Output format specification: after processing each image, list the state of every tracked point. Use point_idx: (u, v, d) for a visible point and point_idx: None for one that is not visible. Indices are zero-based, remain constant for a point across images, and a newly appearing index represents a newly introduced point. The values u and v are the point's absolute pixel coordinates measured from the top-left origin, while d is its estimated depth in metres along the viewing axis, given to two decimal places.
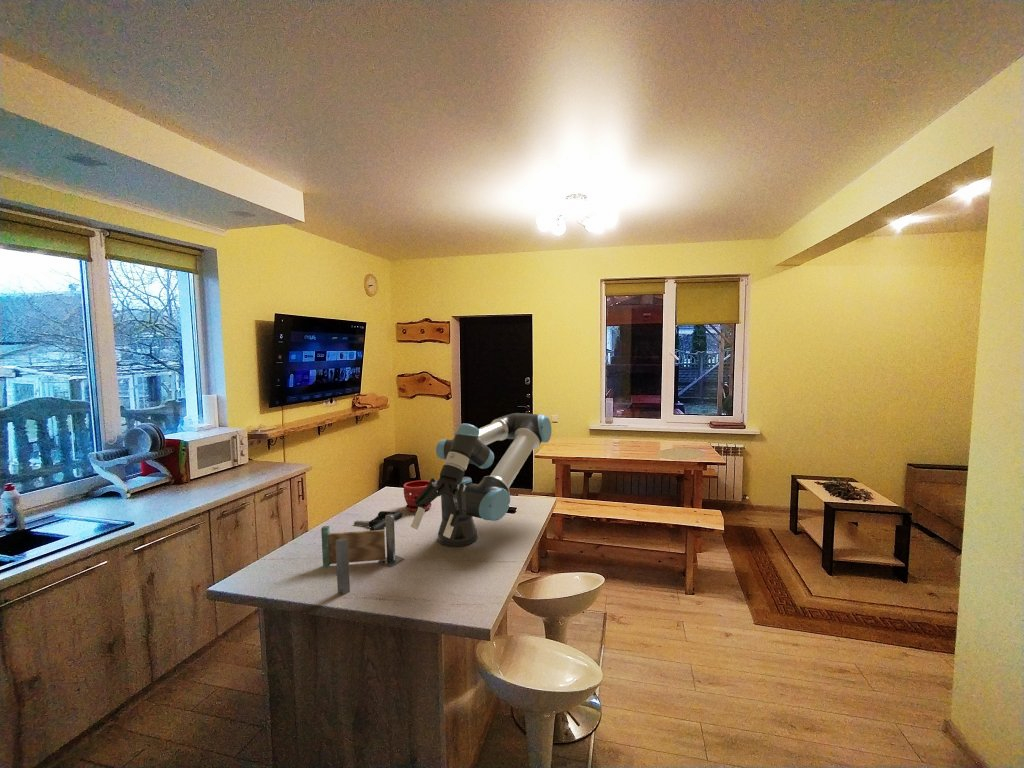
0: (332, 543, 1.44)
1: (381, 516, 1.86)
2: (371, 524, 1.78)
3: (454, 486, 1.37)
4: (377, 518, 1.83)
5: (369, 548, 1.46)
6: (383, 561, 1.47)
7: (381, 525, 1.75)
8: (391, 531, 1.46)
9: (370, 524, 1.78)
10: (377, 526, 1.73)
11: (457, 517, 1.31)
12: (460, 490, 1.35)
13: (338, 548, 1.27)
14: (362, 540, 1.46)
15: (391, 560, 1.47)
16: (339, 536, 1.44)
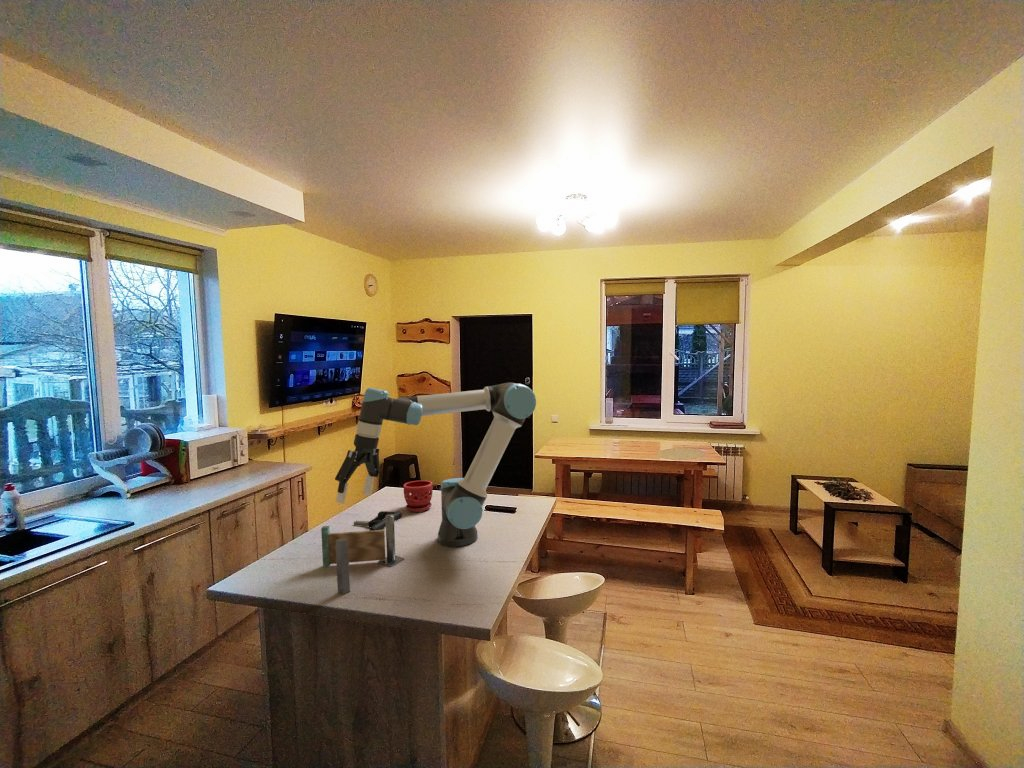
0: (332, 543, 1.44)
1: (381, 516, 1.86)
2: (371, 524, 1.78)
3: None
4: (377, 518, 1.83)
5: (369, 548, 1.46)
6: (383, 561, 1.47)
7: (380, 525, 1.75)
8: (391, 531, 1.46)
9: (369, 524, 1.78)
10: (376, 526, 1.73)
11: (340, 483, 1.34)
12: None
13: (338, 548, 1.27)
14: (362, 540, 1.46)
15: (391, 560, 1.47)
16: (339, 536, 1.44)
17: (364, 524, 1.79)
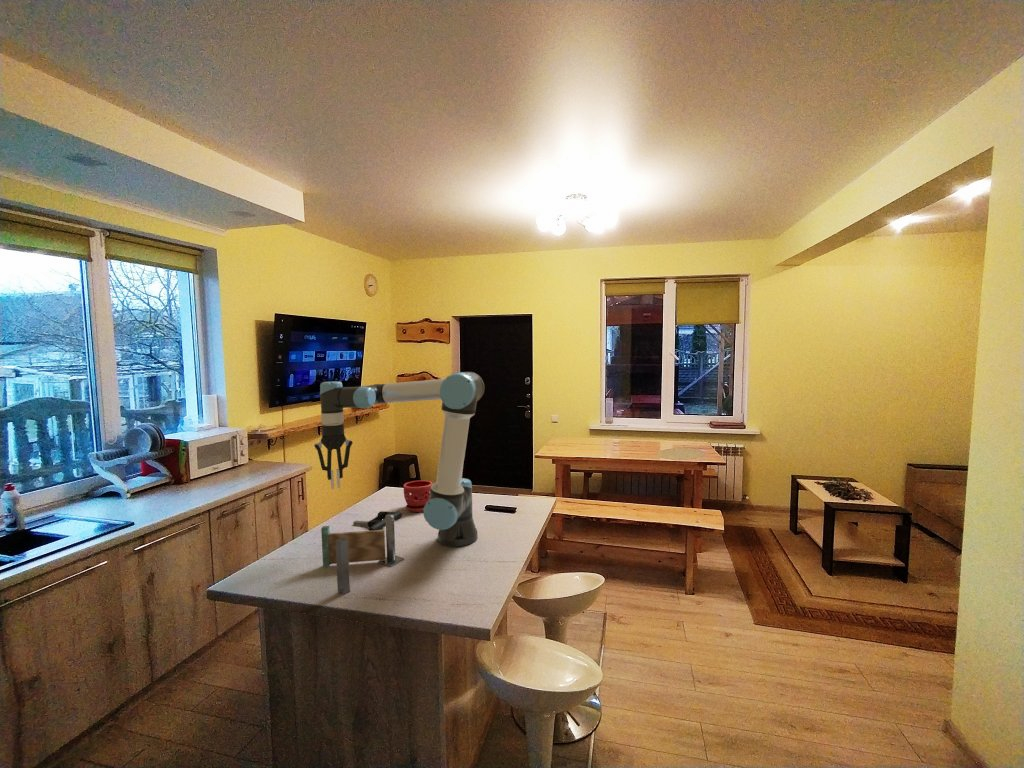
0: (332, 543, 1.44)
1: (381, 516, 1.86)
2: (370, 524, 1.78)
3: None
4: (376, 518, 1.83)
5: (369, 548, 1.46)
6: (383, 561, 1.47)
7: (380, 525, 1.74)
8: (391, 531, 1.46)
9: (369, 524, 1.78)
10: (376, 526, 1.72)
11: (327, 472, 1.57)
12: None
13: (338, 548, 1.27)
14: (362, 540, 1.46)
15: (391, 560, 1.47)
16: (339, 536, 1.44)
17: (364, 524, 1.79)
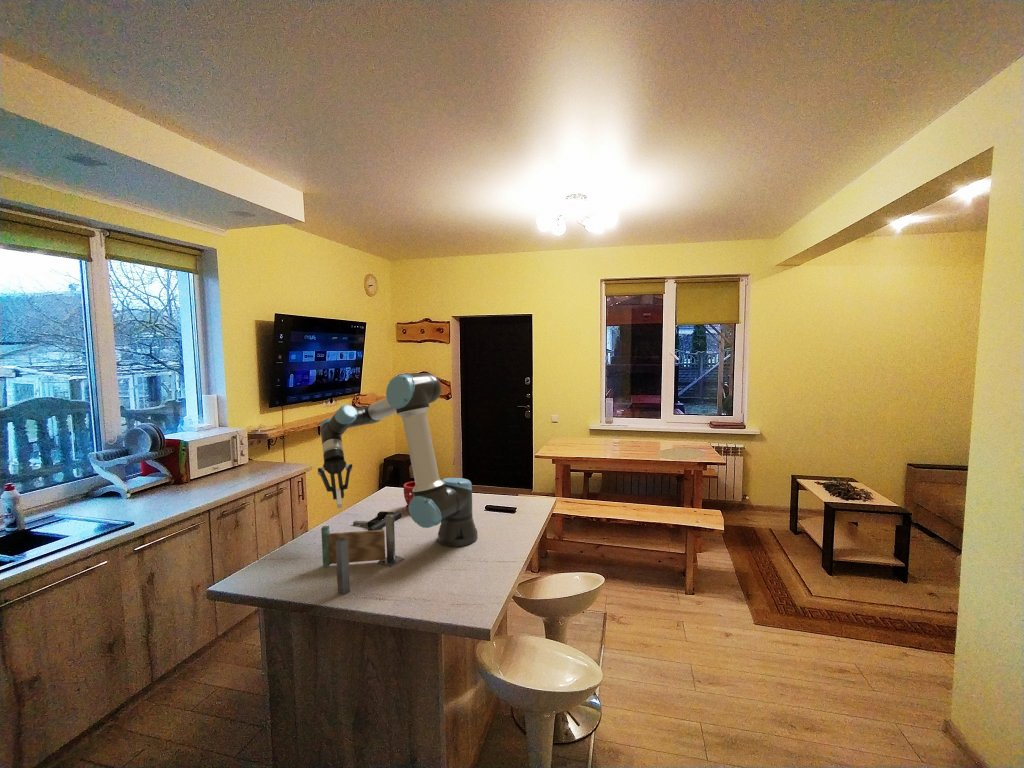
0: (332, 543, 1.44)
1: (381, 516, 1.86)
2: (370, 524, 1.77)
3: None
4: (376, 518, 1.83)
5: (369, 548, 1.46)
6: (383, 561, 1.47)
7: (379, 525, 1.74)
8: (391, 531, 1.46)
9: (368, 524, 1.78)
10: (375, 526, 1.72)
11: (332, 492, 1.62)
12: None
13: (338, 548, 1.27)
14: (362, 540, 1.46)
15: (391, 560, 1.47)
16: (339, 536, 1.44)
17: (363, 524, 1.79)
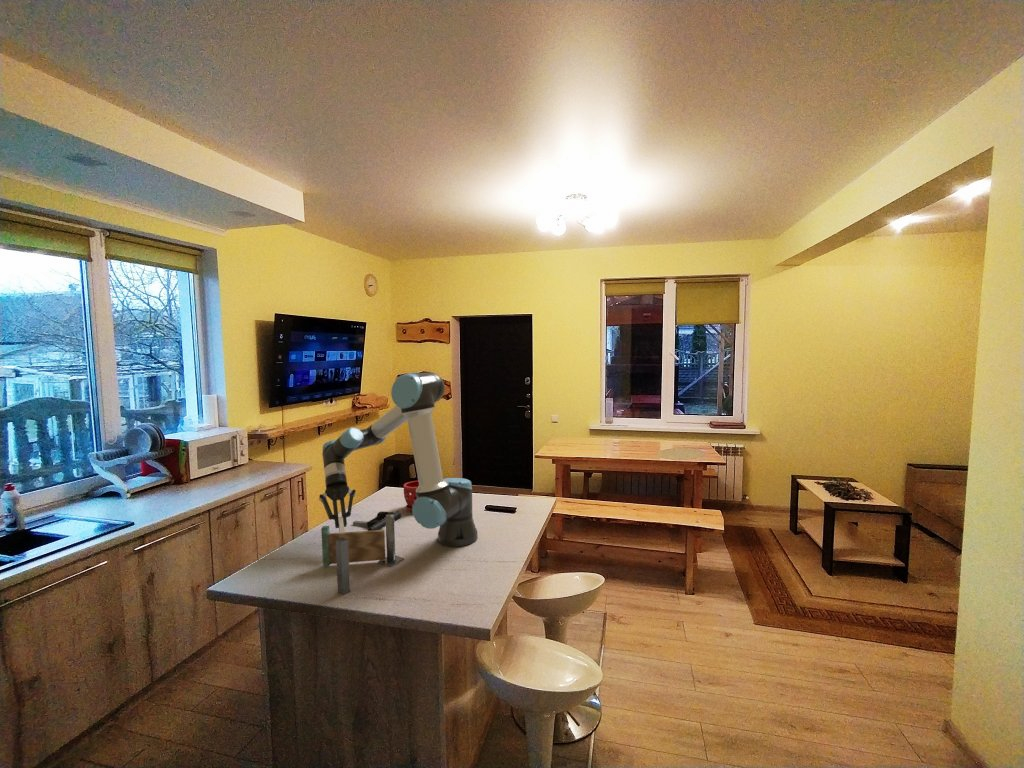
0: (332, 543, 1.44)
1: (380, 516, 1.86)
2: (369, 524, 1.77)
3: None
4: (376, 518, 1.83)
5: (369, 548, 1.46)
6: (383, 561, 1.47)
7: (379, 526, 1.74)
8: (391, 531, 1.46)
9: (368, 524, 1.78)
10: (375, 527, 1.72)
11: (334, 520, 1.55)
12: None
13: (338, 548, 1.27)
14: (362, 540, 1.46)
15: (391, 560, 1.47)
16: (339, 536, 1.44)
17: (363, 524, 1.79)
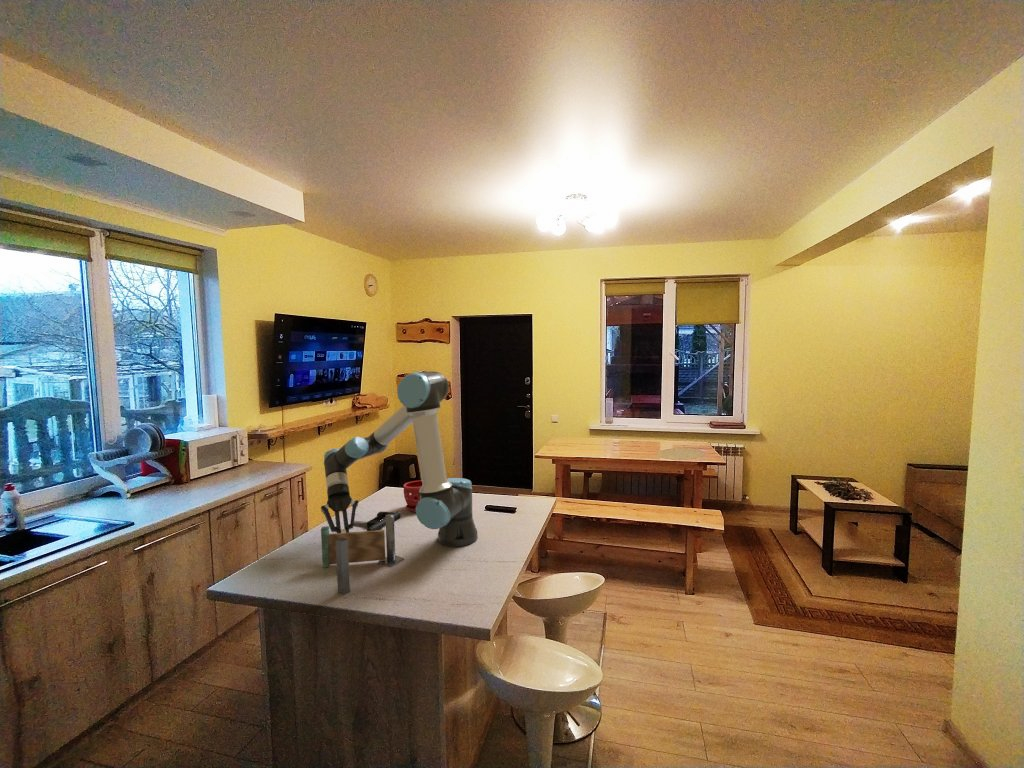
0: (332, 543, 1.44)
1: (380, 516, 1.86)
2: (369, 525, 1.77)
3: None
4: (375, 519, 1.83)
5: (369, 548, 1.46)
6: (383, 561, 1.47)
7: (378, 526, 1.74)
8: (391, 531, 1.46)
9: (368, 524, 1.78)
10: (374, 527, 1.72)
11: (337, 532, 1.50)
12: None
13: (338, 548, 1.27)
14: (362, 540, 1.45)
15: (391, 560, 1.47)
16: (339, 536, 1.44)
17: (362, 524, 1.79)
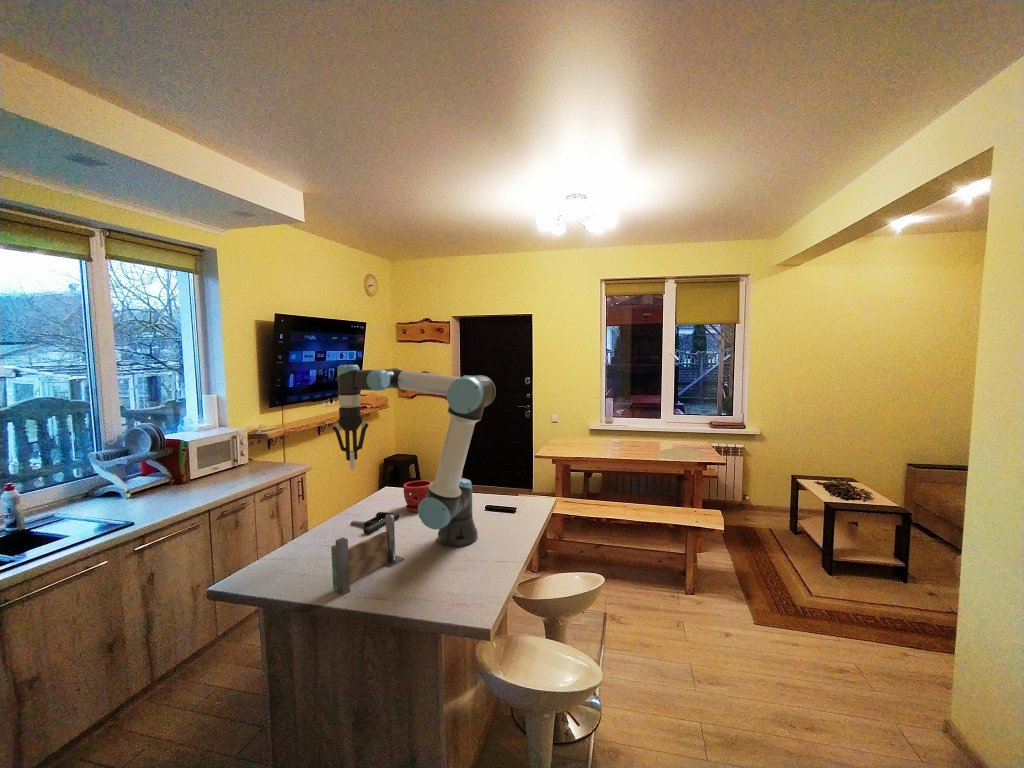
0: None
1: (378, 517, 1.85)
2: (366, 525, 1.77)
3: None
4: (373, 519, 1.83)
5: (375, 554, 1.41)
6: None
7: (375, 526, 1.74)
8: (391, 531, 1.46)
9: (365, 525, 1.77)
10: (371, 527, 1.72)
11: (346, 452, 1.61)
12: None
13: (338, 548, 1.27)
14: (370, 548, 1.39)
15: (391, 560, 1.47)
16: (350, 551, 1.33)
17: (360, 524, 1.79)
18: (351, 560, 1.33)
